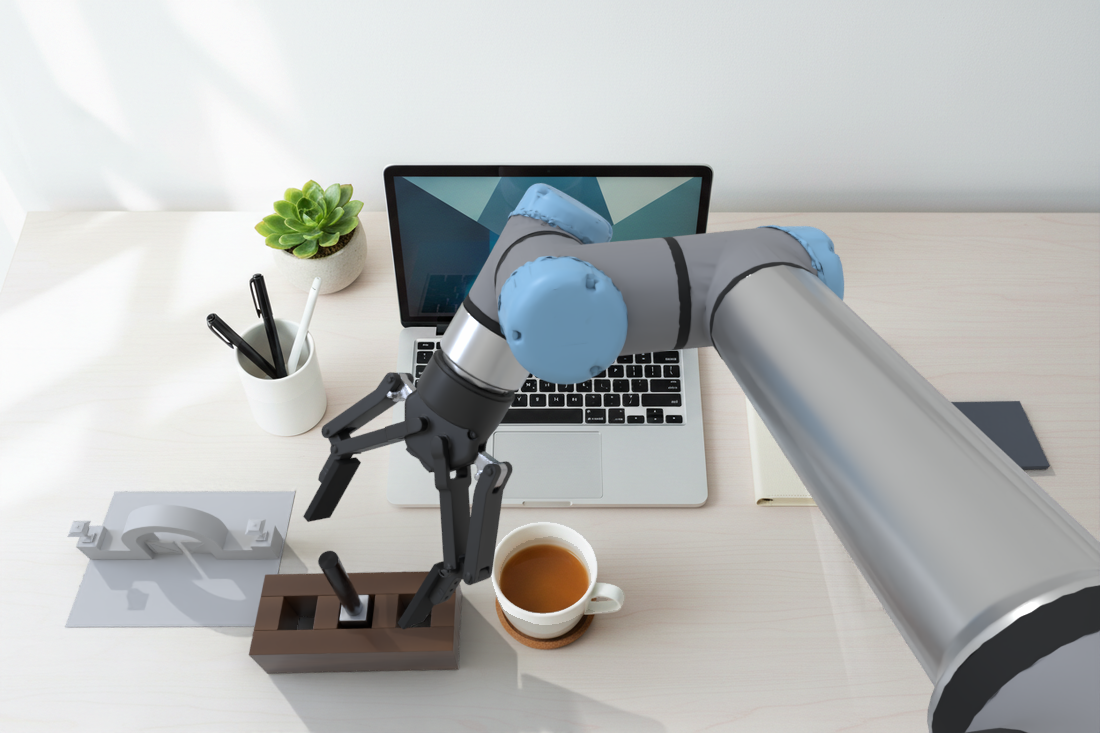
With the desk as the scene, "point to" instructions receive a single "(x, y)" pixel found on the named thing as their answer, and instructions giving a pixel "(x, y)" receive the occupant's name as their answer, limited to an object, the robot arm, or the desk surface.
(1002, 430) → the felt mat
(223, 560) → the grey arched handle
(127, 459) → the desk surface
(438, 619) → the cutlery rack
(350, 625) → the rod topped stamp
